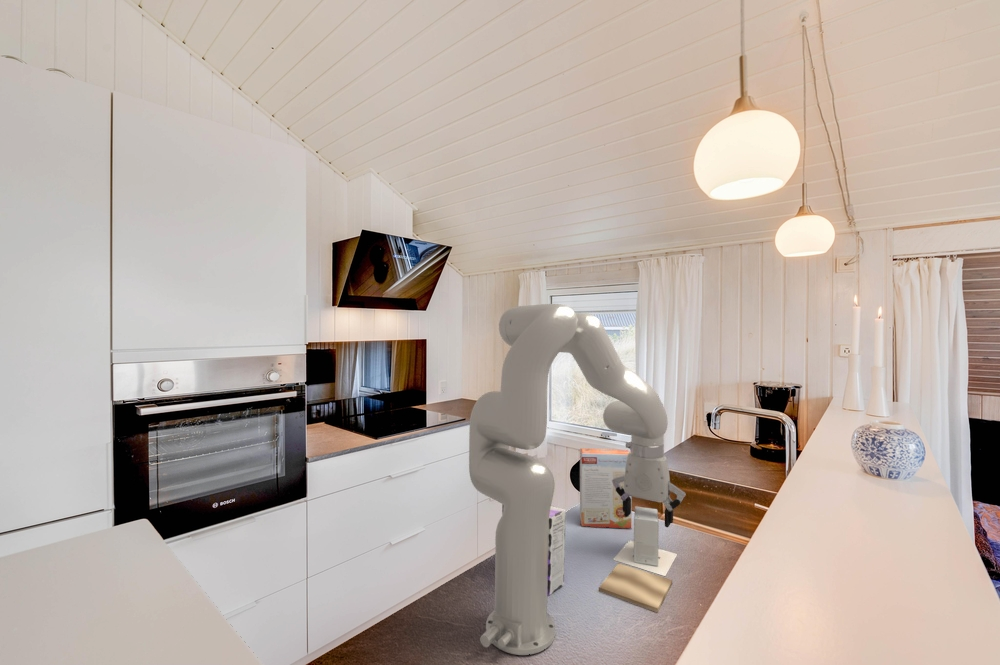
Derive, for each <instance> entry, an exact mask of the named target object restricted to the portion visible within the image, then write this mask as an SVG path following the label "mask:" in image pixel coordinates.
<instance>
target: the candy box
mask: <svg viewBox="0 0 1000 665" xmlns="http://www.w3.org/2000/svg"><path fill="white" fill-rule="evenodd" d="M501 504H502V503H501ZM501 506H502V510H501V512H502V513H501V515H503V513H504V509H505V508H504V505H503V504H502V505H501ZM566 513H567V512H566V509H565V508H560V507H557V506H554V505H551V508H550V514H549V524H548V578H547V596H551V595H552V594H554V593H555V592H556V591H559V589H561V588H562V587H564V586H565V554H566V553H565V547H566V546H565V545H566V544H565V542H566V539H565V538H566Z"/></svg>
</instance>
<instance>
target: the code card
mask: <svg viewBox="0 0 1000 665" xmlns="http://www.w3.org/2000/svg"><path fill="white" fill-rule="evenodd" d="M627 542H628V543H627ZM627 542H626V543H625V545H623V547H622V548H621V549H620V551H618V553H617V554H616V555H615V557H613V559H612V560H613V561H615V562H618V563H620V564H623V565H627V566H630V567H633V568H636V569H639V570H642V571H645V572H649V573H652V574H655V575H658V576H661V577H666V576H667V574H668V572H669V571H670V569H671V567H672V565H673V563H674V562H675V560H676V557H677V556H678V554H677V553H674V552H671V551H668V550H664V549H661V548H658V566H655V565H649V564H642V563H636V562H634V540H630V542H629V540H628V541H627ZM627 544H628V545H627ZM624 547H625V548H624Z"/></svg>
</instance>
